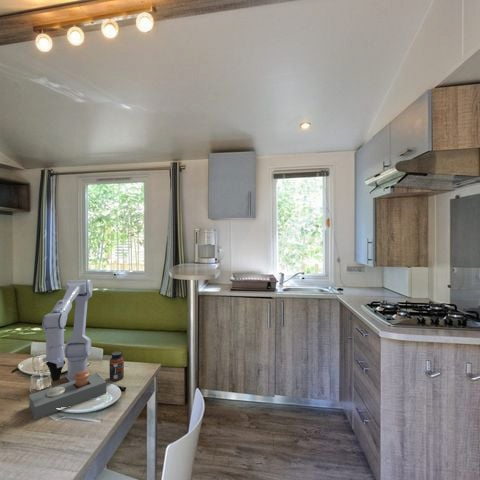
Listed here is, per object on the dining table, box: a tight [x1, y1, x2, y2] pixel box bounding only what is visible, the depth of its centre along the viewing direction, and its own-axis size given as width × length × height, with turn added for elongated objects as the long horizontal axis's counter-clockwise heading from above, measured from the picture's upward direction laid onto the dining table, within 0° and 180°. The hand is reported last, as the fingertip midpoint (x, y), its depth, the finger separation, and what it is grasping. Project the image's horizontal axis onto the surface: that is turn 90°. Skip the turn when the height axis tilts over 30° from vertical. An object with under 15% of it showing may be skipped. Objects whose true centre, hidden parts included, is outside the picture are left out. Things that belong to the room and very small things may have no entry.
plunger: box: [46, 387, 65, 398], centre depth 110 cm, size 6×6×4 cm
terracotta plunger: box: [73, 370, 91, 388], centre depth 116 cm, size 6×6×4 cm
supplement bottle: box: [109, 351, 125, 382], centre depth 130 cm, size 6×6×11 cm
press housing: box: [28, 372, 107, 421], centre depth 113 cm, size 24×11×4 cm, turn 135°
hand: (55, 380), depth 110 cm, fingers closed
